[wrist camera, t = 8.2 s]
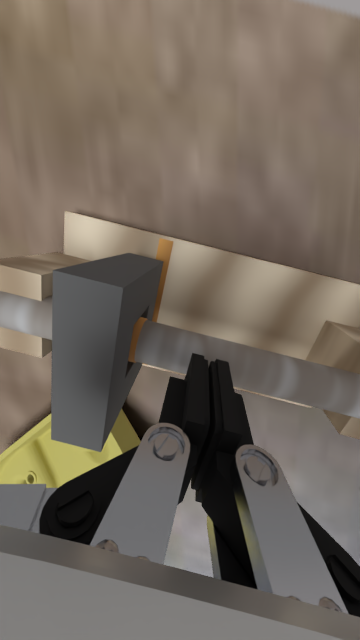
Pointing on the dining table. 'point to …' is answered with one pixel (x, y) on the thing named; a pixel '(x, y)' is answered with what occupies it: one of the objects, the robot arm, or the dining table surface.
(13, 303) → the pipe stand
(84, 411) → the collar
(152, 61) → the dining table surface
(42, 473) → the plastic component
